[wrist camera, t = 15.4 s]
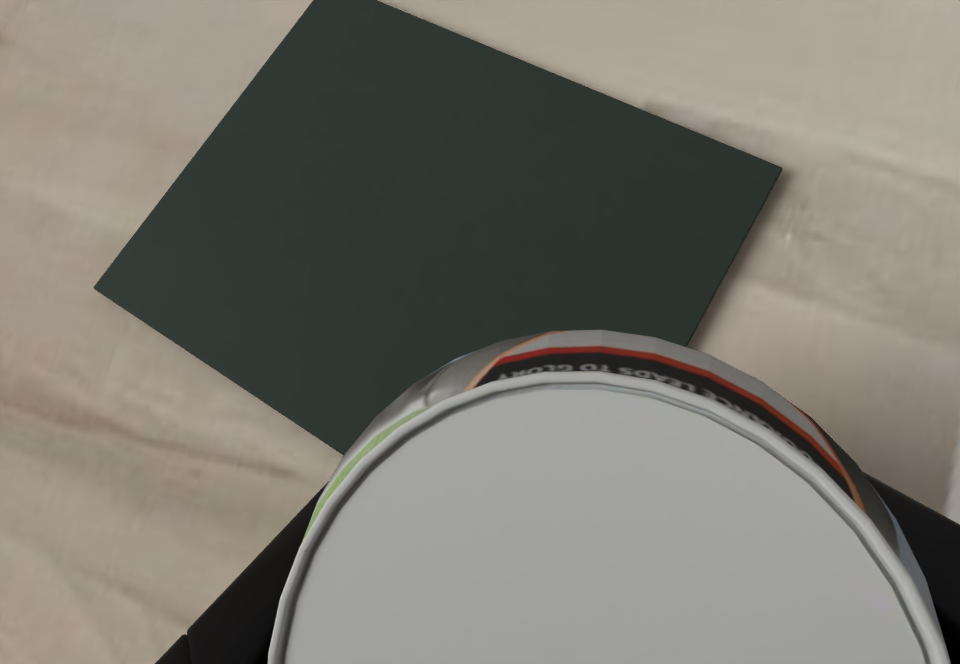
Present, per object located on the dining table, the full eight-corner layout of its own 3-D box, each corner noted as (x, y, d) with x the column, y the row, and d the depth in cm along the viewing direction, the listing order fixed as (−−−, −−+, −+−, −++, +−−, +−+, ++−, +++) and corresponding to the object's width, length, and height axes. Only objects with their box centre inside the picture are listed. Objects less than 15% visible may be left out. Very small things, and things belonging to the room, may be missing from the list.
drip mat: (778, 175, 20) (783, 167, 20) (552, 592, 17) (552, 594, 17) (332, -11, 25) (328, -21, 25) (102, 292, 22) (92, 287, 22)
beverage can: (739, 459, 15) (1312, 327, 4) (629, 738, 14) (1039, 1861, 2) (527, 360, 17) (491, 50, 5) (405, 603, 15) (-13, 904, 4)
